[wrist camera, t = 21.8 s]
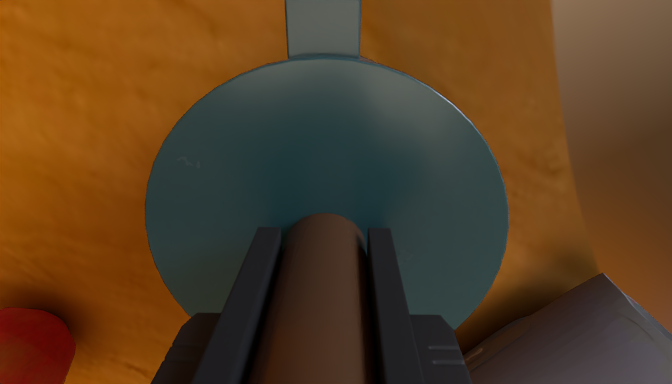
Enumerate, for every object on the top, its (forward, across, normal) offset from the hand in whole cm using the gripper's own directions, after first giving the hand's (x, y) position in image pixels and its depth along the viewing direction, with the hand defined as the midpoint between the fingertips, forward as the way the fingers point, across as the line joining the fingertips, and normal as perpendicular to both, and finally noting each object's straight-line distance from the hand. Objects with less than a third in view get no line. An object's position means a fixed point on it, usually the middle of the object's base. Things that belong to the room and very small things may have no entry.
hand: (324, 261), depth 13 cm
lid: (+1, 0, 0) cm, 1 cm away
